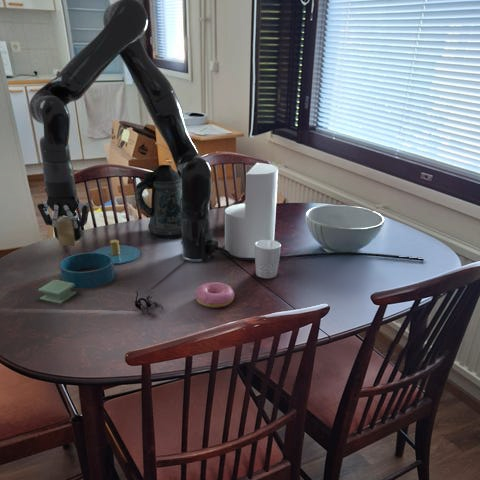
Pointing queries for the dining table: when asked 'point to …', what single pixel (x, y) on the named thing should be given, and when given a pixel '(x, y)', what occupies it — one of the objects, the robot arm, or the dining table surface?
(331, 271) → the dining table surface
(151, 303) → the creature
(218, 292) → the doughnut
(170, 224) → the beer stein
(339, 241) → the decorative bowl
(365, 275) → the dining table surface
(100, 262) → the tin
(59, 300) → the stand
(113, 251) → the tin lid
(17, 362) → the dining table surface
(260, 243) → the white cup
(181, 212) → the robot arm
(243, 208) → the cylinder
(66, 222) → the block
